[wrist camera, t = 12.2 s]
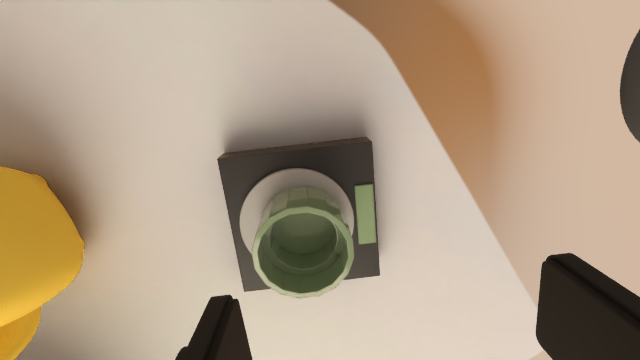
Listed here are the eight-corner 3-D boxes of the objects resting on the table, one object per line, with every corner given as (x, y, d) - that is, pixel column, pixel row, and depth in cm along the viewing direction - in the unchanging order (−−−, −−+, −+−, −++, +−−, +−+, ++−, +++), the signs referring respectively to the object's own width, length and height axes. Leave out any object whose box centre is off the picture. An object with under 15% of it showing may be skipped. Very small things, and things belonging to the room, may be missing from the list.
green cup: (341, 179, 27) (349, 201, 22) (348, 256, 29) (357, 291, 24) (255, 189, 27) (244, 213, 22) (268, 265, 29) (260, 303, 24)
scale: (366, 136, 29) (373, 142, 26) (374, 262, 33) (381, 279, 30) (224, 153, 29) (215, 160, 26) (248, 277, 33) (243, 296, 30)
